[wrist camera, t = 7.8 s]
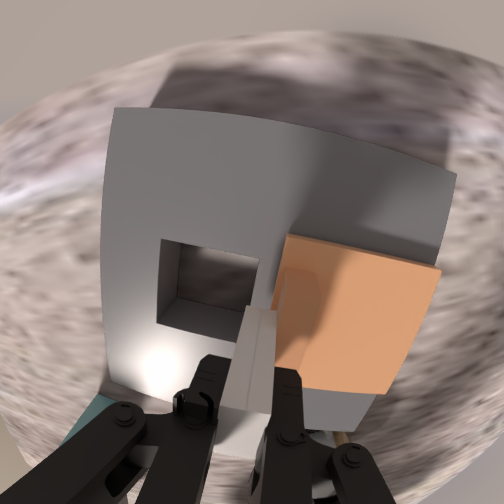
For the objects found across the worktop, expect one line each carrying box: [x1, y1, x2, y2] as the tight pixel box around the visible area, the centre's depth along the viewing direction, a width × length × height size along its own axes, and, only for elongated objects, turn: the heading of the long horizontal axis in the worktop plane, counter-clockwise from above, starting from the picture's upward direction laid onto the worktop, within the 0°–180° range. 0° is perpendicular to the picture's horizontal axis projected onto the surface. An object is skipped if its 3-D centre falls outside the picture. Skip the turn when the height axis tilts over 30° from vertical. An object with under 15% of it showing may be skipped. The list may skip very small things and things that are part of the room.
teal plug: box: [59, 394, 117, 447], centre depth 20 cm, size 4×4×14 cm
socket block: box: [100, 108, 457, 432], centre depth 18 cm, size 20×20×4 cm
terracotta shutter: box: [270, 233, 442, 394], centre depth 14 cm, size 9×9×4 cm
